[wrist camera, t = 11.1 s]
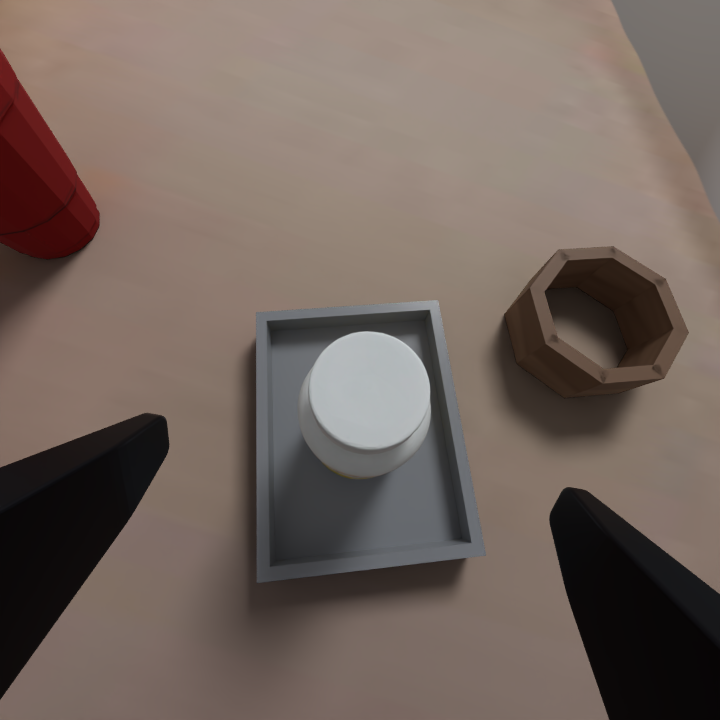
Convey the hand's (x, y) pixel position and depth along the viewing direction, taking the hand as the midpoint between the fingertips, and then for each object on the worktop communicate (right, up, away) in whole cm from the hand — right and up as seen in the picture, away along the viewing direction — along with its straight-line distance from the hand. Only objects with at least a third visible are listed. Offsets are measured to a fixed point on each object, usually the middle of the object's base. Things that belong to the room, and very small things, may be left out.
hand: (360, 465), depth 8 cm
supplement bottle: (0, -2, +13) cm, 13 cm away
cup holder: (+14, +4, +16) cm, 22 cm away
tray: (0, -2, +13) cm, 13 cm away
